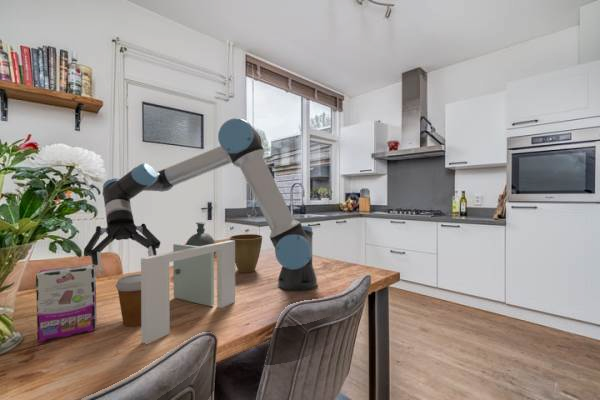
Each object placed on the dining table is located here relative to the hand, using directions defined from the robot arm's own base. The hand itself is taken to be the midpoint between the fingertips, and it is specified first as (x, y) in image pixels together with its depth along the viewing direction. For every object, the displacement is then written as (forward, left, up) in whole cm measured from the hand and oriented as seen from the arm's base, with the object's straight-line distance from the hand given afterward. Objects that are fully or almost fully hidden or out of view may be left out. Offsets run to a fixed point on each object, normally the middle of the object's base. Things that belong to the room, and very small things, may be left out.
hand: (128, 269), depth 83 cm
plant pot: (-10, -52, -13) cm, 54 cm away
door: (-13, -13, -12) cm, 22 cm away
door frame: (-22, -3, -13) cm, 26 cm away
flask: (+13, -49, -13) cm, 52 cm away
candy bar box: (+3, +14, -13) cm, 20 cm away
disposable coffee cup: (-8, +4, -13) cm, 16 cm away
